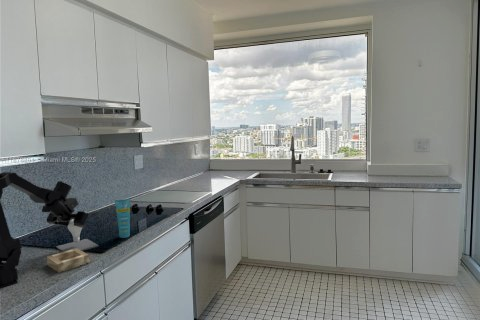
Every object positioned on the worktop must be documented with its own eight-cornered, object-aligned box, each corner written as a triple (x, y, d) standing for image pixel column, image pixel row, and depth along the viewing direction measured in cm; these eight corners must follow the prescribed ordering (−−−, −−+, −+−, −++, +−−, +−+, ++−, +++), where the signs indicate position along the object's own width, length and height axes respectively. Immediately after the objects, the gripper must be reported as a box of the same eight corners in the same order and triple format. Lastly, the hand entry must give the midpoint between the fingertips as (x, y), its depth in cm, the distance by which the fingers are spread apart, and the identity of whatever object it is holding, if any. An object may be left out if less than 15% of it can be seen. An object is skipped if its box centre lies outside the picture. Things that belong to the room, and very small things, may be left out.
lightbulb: (81, 243, 158) (79, 220, 157) (66, 244, 157) (65, 221, 156) (86, 239, 164) (84, 216, 163) (72, 240, 164) (70, 217, 162)
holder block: (58, 272, 133) (57, 264, 133) (47, 264, 141) (46, 256, 141) (89, 262, 142) (88, 254, 142) (77, 256, 150) (76, 248, 150)
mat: (66, 255, 151) (66, 253, 151) (56, 247, 161) (56, 246, 161) (98, 246, 161) (98, 245, 161) (86, 239, 171) (86, 238, 171)
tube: (118, 239, 171) (115, 201, 169) (116, 236, 175) (113, 199, 173) (133, 236, 174) (131, 199, 172) (131, 233, 178) (129, 197, 176)
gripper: (84, 193, 152) (101, 212, 164) (49, 192, 157) (68, 210, 169) (73, 215, 145) (92, 233, 157) (36, 214, 150) (57, 231, 162)
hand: (77, 226), depth 161 cm, fingers closed on lightbulb, 6 cm apart
